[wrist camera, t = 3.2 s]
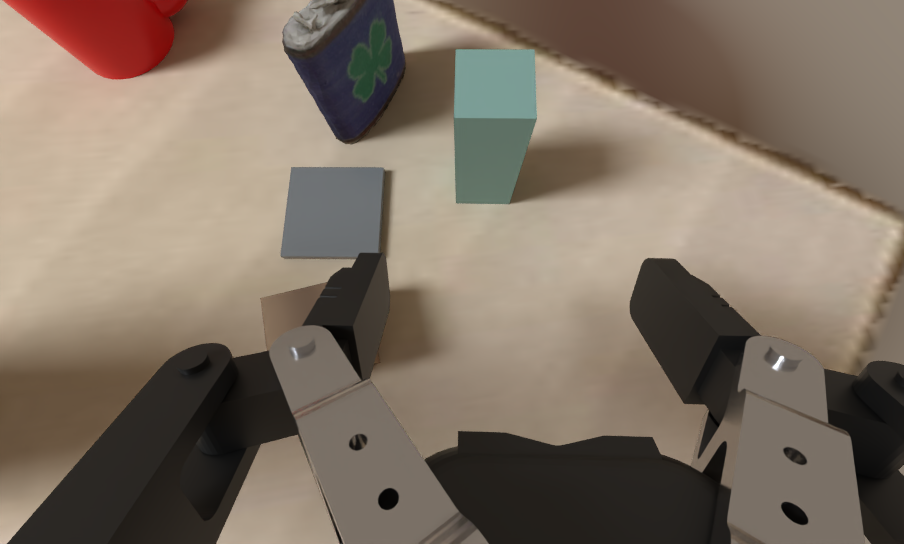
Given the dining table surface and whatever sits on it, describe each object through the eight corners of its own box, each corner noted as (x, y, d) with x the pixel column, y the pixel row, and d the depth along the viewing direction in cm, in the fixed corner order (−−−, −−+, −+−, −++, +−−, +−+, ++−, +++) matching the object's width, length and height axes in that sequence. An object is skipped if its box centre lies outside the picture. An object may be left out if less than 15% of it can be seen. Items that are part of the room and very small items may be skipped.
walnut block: (308, 380, 25) (271, 386, 20) (298, 309, 26) (260, 298, 21) (380, 362, 25) (361, 363, 20) (366, 292, 26) (345, 277, 21)
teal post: (455, 203, 27) (453, 117, 18) (457, 155, 28) (455, 49, 19) (509, 203, 27) (536, 118, 18) (508, 156, 28) (534, 49, 18)
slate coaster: (288, 260, 27) (280, 256, 26) (298, 175, 29) (291, 167, 28) (381, 261, 27) (377, 256, 26) (386, 175, 29) (383, 167, 27)
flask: (386, 51, 31) (349, -107, 20) (416, 64, 30) (394, -89, 20) (326, 136, 29) (252, 13, 19) (358, 152, 29) (300, 35, 18)
